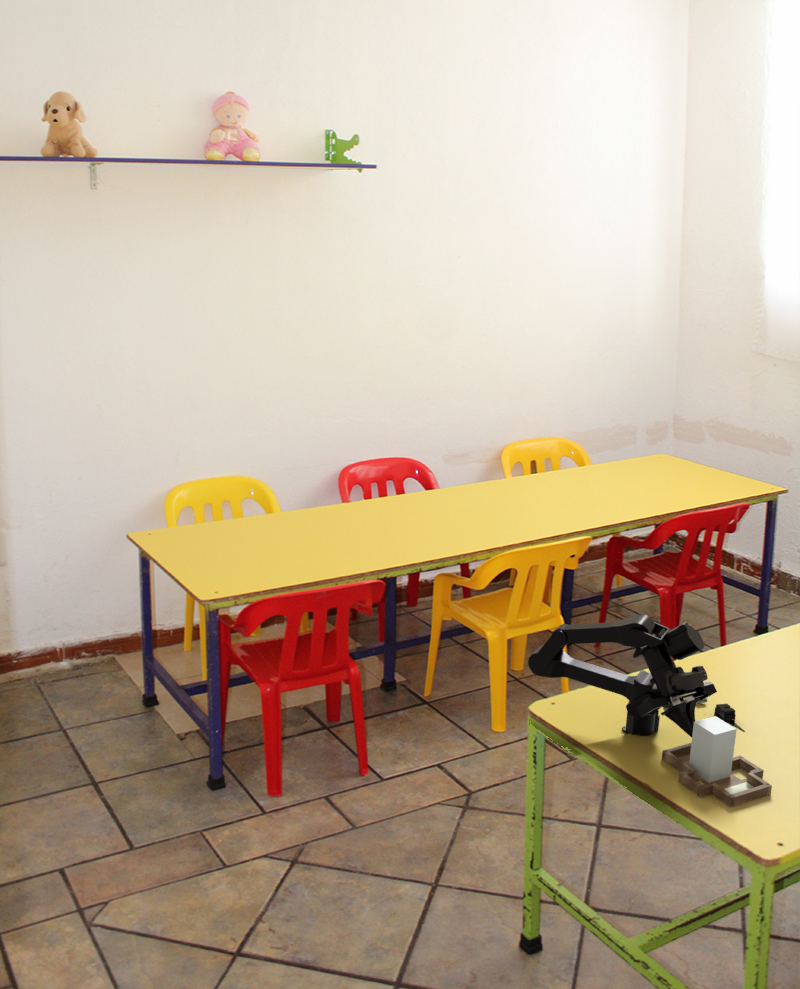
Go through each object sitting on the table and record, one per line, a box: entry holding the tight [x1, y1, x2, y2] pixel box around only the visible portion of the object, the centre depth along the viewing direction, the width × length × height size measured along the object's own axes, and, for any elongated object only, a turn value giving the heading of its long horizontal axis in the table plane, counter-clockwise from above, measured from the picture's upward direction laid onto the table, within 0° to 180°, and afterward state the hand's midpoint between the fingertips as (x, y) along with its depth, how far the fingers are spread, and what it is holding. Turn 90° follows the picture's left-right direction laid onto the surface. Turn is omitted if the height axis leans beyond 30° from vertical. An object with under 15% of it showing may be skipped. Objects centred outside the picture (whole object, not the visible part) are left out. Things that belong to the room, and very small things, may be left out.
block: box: [689, 715, 738, 783], centre depth 205 cm, size 6×6×11 cm
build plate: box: [704, 703, 746, 733], centre depth 230 cm, size 12×7×5 cm, turn 13°
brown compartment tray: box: [661, 742, 773, 808], centre depth 205 cm, size 20×17×3 cm
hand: (694, 736), depth 210 cm, fingers closed
